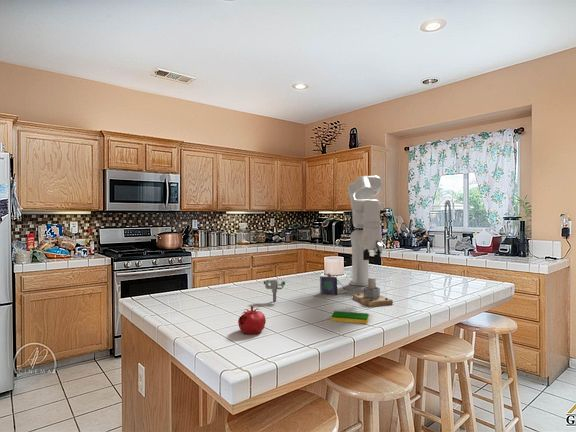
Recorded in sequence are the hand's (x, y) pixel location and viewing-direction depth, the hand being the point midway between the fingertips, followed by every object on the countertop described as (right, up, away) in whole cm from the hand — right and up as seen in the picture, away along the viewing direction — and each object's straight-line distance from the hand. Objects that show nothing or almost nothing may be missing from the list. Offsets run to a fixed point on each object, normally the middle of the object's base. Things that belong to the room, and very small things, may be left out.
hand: (371, 261), depth 171 cm
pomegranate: (-53, -20, -41) cm, 70 cm away
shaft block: (0, -19, 0) cm, 19 cm away
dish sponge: (-15, -20, -28) cm, 38 cm away
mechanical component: (-46, -20, +1) cm, 50 cm away
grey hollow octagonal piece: (0, -17, 0) cm, 17 cm away
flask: (-19, -19, +16) cm, 31 cm away
